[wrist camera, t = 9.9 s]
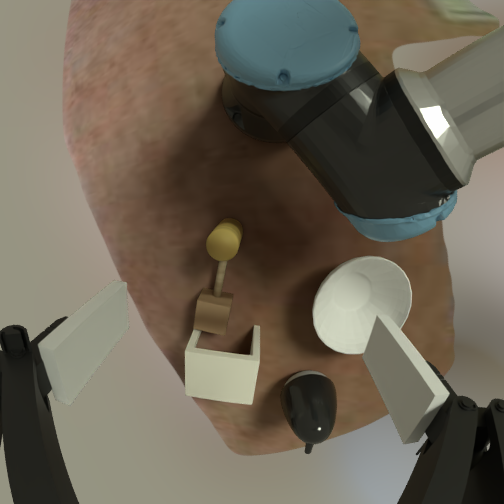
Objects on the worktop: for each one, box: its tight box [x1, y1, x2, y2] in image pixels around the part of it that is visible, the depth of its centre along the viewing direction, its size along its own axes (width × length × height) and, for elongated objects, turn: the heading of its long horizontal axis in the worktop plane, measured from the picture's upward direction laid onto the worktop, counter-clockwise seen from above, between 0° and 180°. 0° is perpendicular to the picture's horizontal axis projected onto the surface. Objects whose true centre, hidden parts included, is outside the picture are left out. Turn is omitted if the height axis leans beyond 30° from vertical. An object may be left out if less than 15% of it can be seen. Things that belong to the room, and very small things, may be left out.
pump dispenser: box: [280, 370, 337, 454], centre depth 44 cm, size 10×10×15 cm
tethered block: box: [193, 218, 243, 336], centre depth 41 cm, size 17×5×9 cm, turn 168°
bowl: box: [312, 256, 412, 354], centre depth 43 cm, size 16×16×7 cm
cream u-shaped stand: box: [185, 325, 260, 405], centre depth 44 cm, size 9×10×10 cm
